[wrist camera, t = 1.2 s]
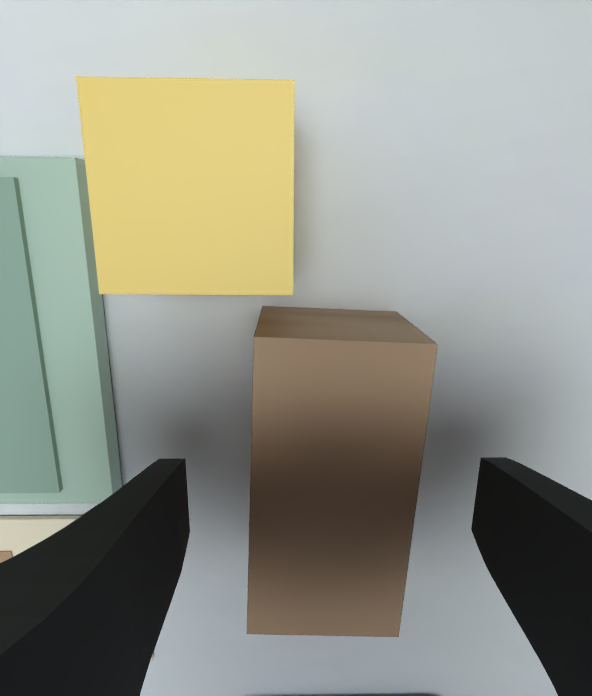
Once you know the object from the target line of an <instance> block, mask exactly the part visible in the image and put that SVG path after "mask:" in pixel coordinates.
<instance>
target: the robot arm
mask: <svg viewBox="0 0 592 696" xmlns="http://www.w3.org/2000/svg"><path fill="white" fill-rule="evenodd" d="M471 530H472V532H473V535H474V538H475V540H476V543H477V545H478V548H479V550H480V553H481V555H482V557H483V560H484V562H485V564H486V567H487V569H488V571H489V572H490V574H491V576H492V578H493V580H494V581H495V583H496V585H497V587H498V588H499V590H500V592H501V594H502V595H503V597H504V599H505V601H506V602H507V604H508V606H509V608H510V609H511V611H512V613H513V614H514V616H515V618H516V620H517V621H518V623H519V625H520V626H521V628H522V630H523V632H524V633H525V635H526V637H527V639H528V640H529V642H530V644H531V645H532V647H533V649H534V651H535V652H536V654H537V656H538V657H539V659H540V661H541V663H542V665H543V667H544V668H545V670H546V672H547V674H548V676H549V678H550V680H551V682H552V684H553V686H554V688H555V690H556V692H557V694H558V696H592V500H590V499H588V498H586V497H584V496H582V495H580V494H578V493H576V492H574V491H572V490H570V489H568V488H567V487H565V486H563V485H561V484H559V483H557V482H555V481H553V480H551V479H549V478H548V477H546V476H544V475H542V474H540V473H538V472H536V471H534V470H532V469H530V468H528V467H526V466H524V465H522V464H520V463H518V462H515V461H513V460H511V459H508V458H481V460H480V468H479V475H478V483H477V491H476V498H475V506H474V513H473V521H472V529H471ZM189 533H190V527H189V511H188V495H187V480H186V464H185V459H159V460H157V461H156V462H154V463H153V464H151V465H150V466H149V467H147V468H146V469H145V470H143V471H142V472H141V473H140V474H138V475H137V476H136V477H134V478H133V479H132V480H130V481H129V482H128V483H127V484H125V485H124V486H123V487H121V488H120V489H119V490H117V491H116V492H115V493H113V494H112V495H111V496H109V497H108V498H107V499H105V500H104V501H102V502H101V503H100V504H98V505H97V506H95V507H94V508H92V509H91V510H89V511H88V512H86V513H85V514H83V515H82V516H81V517H79V518H78V519H76V520H75V521H73V522H72V523H70V524H69V525H67V526H66V527H64V528H62V529H61V530H59V531H58V532H56V533H54V534H53V535H51V536H49V537H48V538H46V539H44V540H43V541H41V542H39V543H37V544H35V545H34V546H32V547H30V548H28V549H27V550H25V551H23V552H21V553H19V554H17V555H16V556H14V557H12V558H10V559H8V560H6V561H3V562H1V563H0V696H140V692H141V689H142V685H143V682H144V679H145V676H146V672H147V669H148V666H149V663H150V660H151V657H152V654H153V651H154V649H155V646H156V643H157V640H158V637H159V634H160V631H161V629H162V626H163V623H164V620H165V617H166V614H167V612H168V609H169V606H170V603H171V600H172V597H173V594H174V591H175V588H176V585H177V583H178V580H179V577H180V574H181V571H182V566H183V562H184V557H185V553H186V548H187V543H188V538H189Z"/></svg>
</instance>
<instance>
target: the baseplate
mask: <svg viewBox="0 0 592 696" xmlns="http://www.w3.org/2000/svg"><path fill="white" fill-rule="evenodd" d="M121 487H122V480H121V470H120V460H119V451H118V441H117V432H116V422H115V413H114V403H113V393H112V384H111V374H110V365H109V355H108V346H107V336H106V326H105V317H104V307H103V298H102V294H99V288H98V278H97V269H96V259H95V250H94V241H93V231H92V222H91V212H90V203H89V194H88V184H87V175H86V165H85V161H84V160H81V159H78V158H59V157H0V504H59V503H101V502H102V501H104V500H105V499H107V498H108V497H109V496H111V495H112V494H113V493H115V492H116V491H117V490H119V489H120V488H121Z"/></svg>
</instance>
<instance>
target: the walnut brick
mask: <svg viewBox="0 0 592 696" xmlns="http://www.w3.org/2000/svg"><path fill="white" fill-rule="evenodd" d="M437 345H438V344H437V343H435V342H434V341H433V340H432V339H430V338H429V337H428V336H426V335H425V334H424V333H423V332H421V331H420V330H419V329H418V328H416V327H415V326H414V325H413V324H411V323H410V322H409V321H407V320H406V319H405V318H404V317H402V316H401V315H400V314H399V313H397V312H389V311H366V310H343V309H320V308H297V307H274V306H263V307H262V310H261V314H260V317H259V321H258V324H257V328H256V331H255V335H254V355H253V396H252V438H251V479H250V521H249V563H248V604H247V634H272V635H324V636H376V637H399V630H400V622H401V615H402V607H403V600H404V592H405V585H406V577H407V570H408V562H409V555H410V547H411V540H412V532H413V525H414V517H415V510H416V503H417V495H418V488H419V480H420V473H421V465H422V458H423V450H424V443H425V435H426V428H427V420H428V413H429V405H430V398H431V390H432V383H433V375H434V368H435V360H436V353H437Z"/></svg>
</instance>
